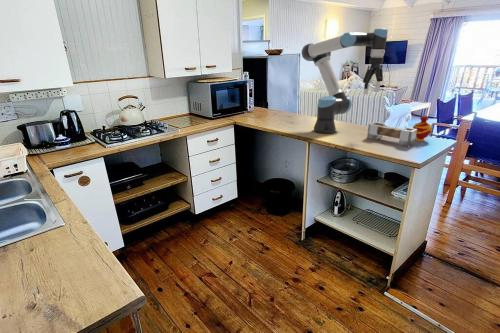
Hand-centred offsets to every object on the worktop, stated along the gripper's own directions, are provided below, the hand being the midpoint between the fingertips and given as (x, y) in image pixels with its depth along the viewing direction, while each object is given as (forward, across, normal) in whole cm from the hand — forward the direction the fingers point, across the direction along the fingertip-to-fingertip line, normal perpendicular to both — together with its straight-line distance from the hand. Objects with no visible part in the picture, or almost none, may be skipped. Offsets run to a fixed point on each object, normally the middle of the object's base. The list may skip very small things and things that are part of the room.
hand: (371, 93), depth 184 cm
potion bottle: (+27, +14, -30) cm, 42 cm away
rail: (+24, -1, -18) cm, 30 cm away
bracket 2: (+27, -1, -28) cm, 38 cm away
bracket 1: (+27, -1, -8) cm, 28 cm away
